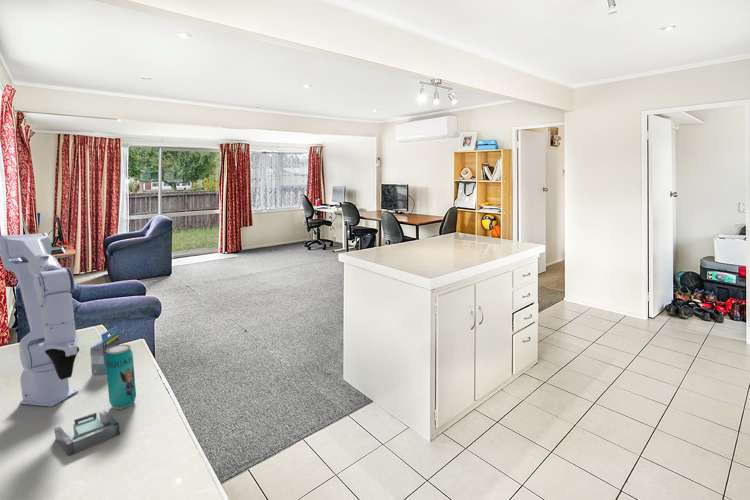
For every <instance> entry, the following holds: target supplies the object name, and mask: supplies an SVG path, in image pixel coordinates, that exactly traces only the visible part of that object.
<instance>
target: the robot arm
mask: <svg viewBox="0 0 750 500" xmlns="http://www.w3.org/2000/svg"><path fill="white" fill-rule="evenodd" d="M52 249H53V248H52V240H51V237H50V235H49V234H48V233H46V232H42V233H29V234H28V233H27V234H11V235H10V234H9V235H8V234H7V235H4V234H3V235H2V234H1V235H0V259H1V263H2V266H3V267H4V270H5V271H9V272H12V273H13V274H14V276H15V278H16V280H17V282H18V285H19V289H20V293H21V299H22V302H23V307H24V310H25V314H26V318H27V322H28V327H29V332H28V333H27V334H25V335H24V336H23V337H22V338H21V339H20V341H19V342H18V343H19V344H18V348H19V356H20V361H21V362H20V363H21V366H22V368H23V371H22V372H21V374H20V387H21V389H20V390H21V396H22V397H21V398H22V400H20V401H19V404H21V405H31V406H40V407H41V406H42V407H53V406H55V405H57V404H59V403H60V402H62V401H64V400H66V399H68V398H69V397H71V396H73V395H74V394H76V393H78V392H79V389H74V388H70V386H69V378H72V376H73V371H74V366H75V365H74V364H75V360H76V358H77V356H78V353H79V352H80V347H79V346H77V344H78V335H77V332H76V331H77V330H76V322H75V321H76V320H75V314H74V305H73V295H72V293H74V291H75V279H74V274H73V272H72V270H71V268H70V267H63V266H61V264H60V263H59V261H58V259H57V258H56V257H55V256H53V255H52V251H53V250H52Z"/></svg>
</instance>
